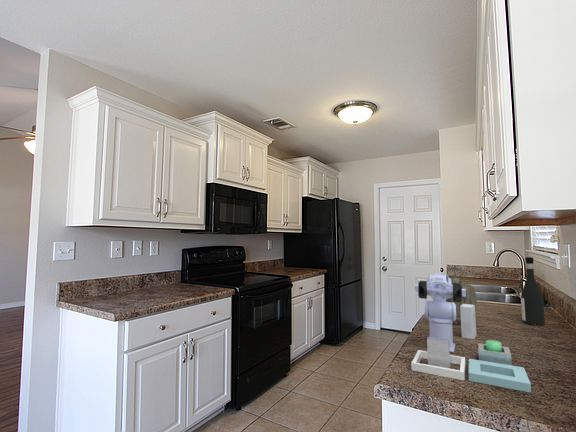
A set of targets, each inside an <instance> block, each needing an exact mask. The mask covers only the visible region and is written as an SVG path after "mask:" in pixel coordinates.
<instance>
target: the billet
mask: <svg viewBox="0 0 576 432" xmlns="http://www.w3.org/2000/svg"><path fill="white" fill-rule="evenodd" d="M426 344H427V345H426V347H427V348H426V350H427V352H428V359H427V365H432V366H438V367H443V368H449V369H451V363H450V355H451V352H450V346H449V339H448V338H440V337H433V336H430V335H429V336H427V339H426Z"/></svg>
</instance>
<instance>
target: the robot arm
mask: <svg viewBox="0 0 576 432" xmlns="http://www.w3.org/2000/svg"><path fill="white" fill-rule="evenodd" d="M414 292H415V293H416V292H417V294H418V298H419V299H425V301H424V317H425V319H427V320H428V322H429V325H428V327H429V336H433V337H440V338H448V339H449V346H450V353H455V350H456V349H455V348H456V343H454V340H453V339H454V337H453V336H454V334H453V324H454V323H453V322H454V321H455V320H456V321H457V319H456V305H455V303H454V302H461V301H462V296H464V297H466V290H465V289H462V286H461V285H460V284H455V283H453V285H452V284H451V278H450V277H449V275H448V274H446V275H445V274H444V275H443V274H441V272H436V273H435V274H429V276H427V277H426V278H425V280H420V281H418V284H414ZM428 297H430V298H432V300H427V299H428ZM448 298H453V302H452V303H451V302H446V299H448Z"/></svg>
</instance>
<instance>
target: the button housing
mask: <svg viewBox="0 0 576 432" xmlns="http://www.w3.org/2000/svg"><path fill="white" fill-rule="evenodd" d="M477 345H478V348H477V349H478V360H481V361H487V362H493V363H499V364H505V365H512V364H513V363H512V362H513V361H512V354H511V350H510V347H508V346H502V345H501V346H502V352H497V351H490V350H486V343H481V342H478V343H477ZM512 366H513V365H512Z"/></svg>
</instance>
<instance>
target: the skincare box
mask: <svg viewBox="0 0 576 432" xmlns="http://www.w3.org/2000/svg"><path fill="white" fill-rule="evenodd" d="M460 314H461V317H460V329H461V330H460V332H461V338H463V339H468V340H474V339H475V338H476V337H477V323H476V321H477V320H476V312H475V305H470V304H462V305H461V306H460Z"/></svg>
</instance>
